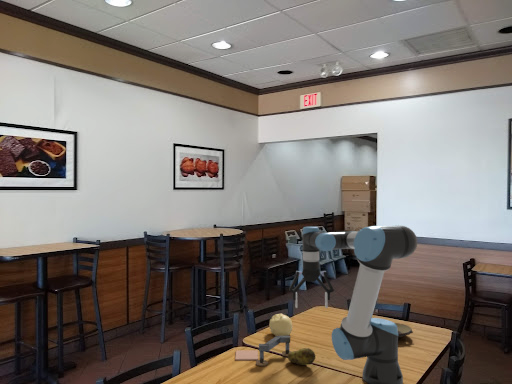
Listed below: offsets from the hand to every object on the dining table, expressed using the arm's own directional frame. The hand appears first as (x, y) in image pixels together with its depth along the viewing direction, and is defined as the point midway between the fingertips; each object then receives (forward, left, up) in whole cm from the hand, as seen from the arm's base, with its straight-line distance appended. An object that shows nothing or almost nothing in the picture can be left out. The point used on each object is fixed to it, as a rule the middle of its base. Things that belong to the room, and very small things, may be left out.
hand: (311, 307), depth 188 cm
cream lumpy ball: (+27, +12, -22) cm, 36 cm away
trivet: (-1, +30, -21) cm, 36 cm away
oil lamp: (+26, -42, -22) cm, 54 cm away
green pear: (-12, +6, -22) cm, 26 cm away
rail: (-5, +17, -21) cm, 28 cm away
